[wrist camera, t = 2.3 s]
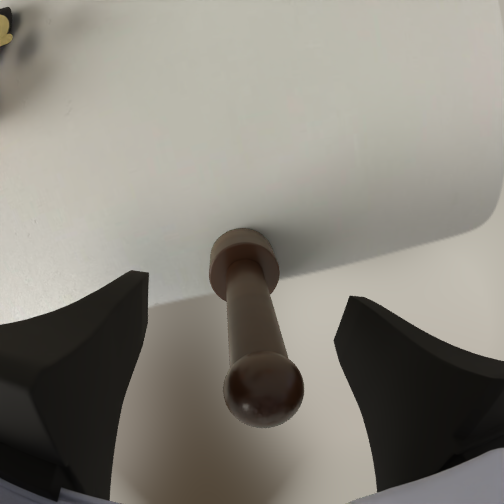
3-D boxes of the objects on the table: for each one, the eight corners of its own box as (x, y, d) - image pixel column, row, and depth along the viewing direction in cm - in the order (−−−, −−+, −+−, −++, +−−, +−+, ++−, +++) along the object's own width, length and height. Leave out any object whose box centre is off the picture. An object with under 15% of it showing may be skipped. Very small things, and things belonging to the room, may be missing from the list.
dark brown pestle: (278, 232, 15) (352, 374, 6) (266, 288, 16) (311, 450, 7) (214, 223, 14) (207, 369, 6) (206, 281, 15) (198, 449, 7)
